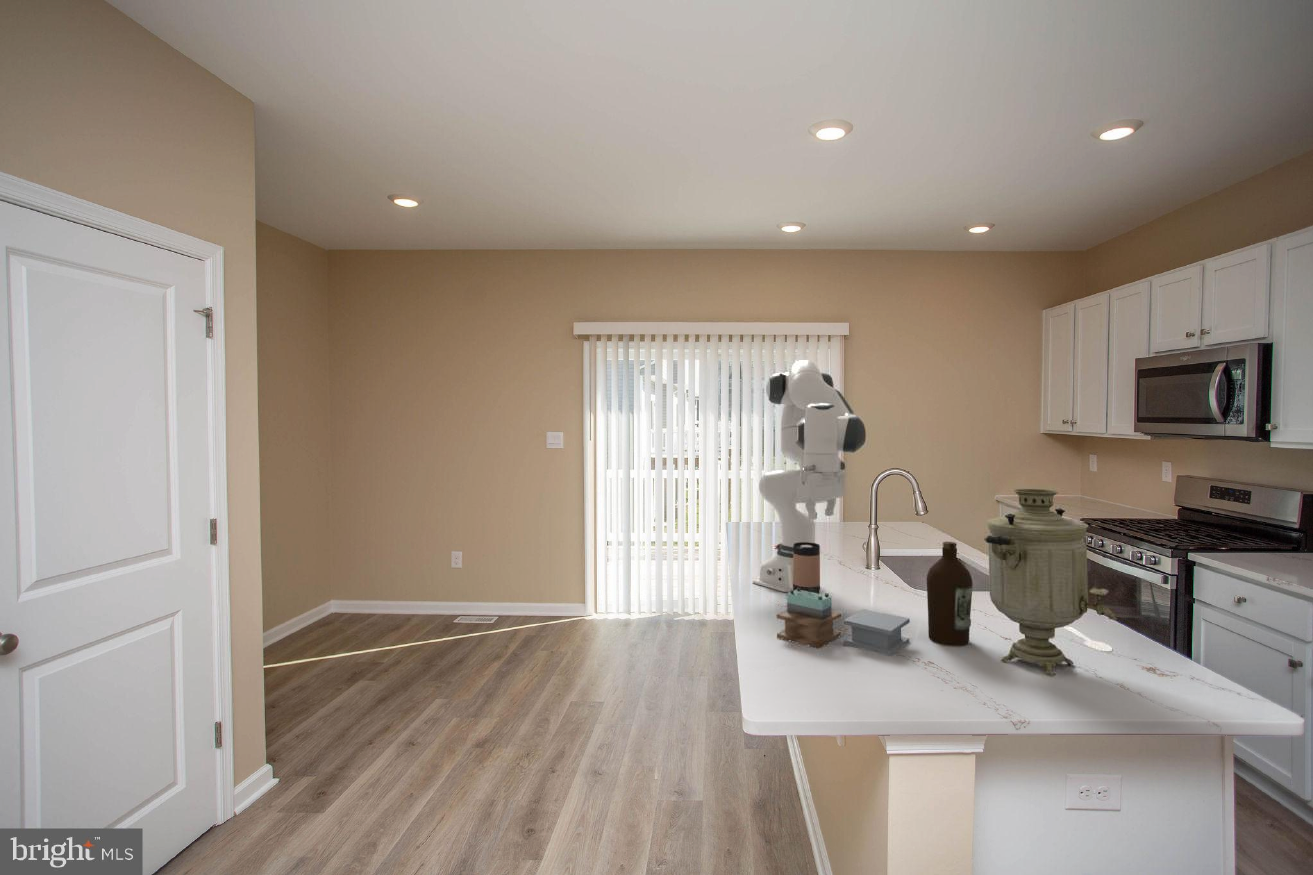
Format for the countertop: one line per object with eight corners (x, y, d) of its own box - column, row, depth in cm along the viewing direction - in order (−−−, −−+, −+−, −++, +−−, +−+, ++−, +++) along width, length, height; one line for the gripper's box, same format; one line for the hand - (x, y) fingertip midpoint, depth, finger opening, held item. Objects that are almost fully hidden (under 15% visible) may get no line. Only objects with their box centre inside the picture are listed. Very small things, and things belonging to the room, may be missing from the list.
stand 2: (843, 643, 159) (843, 620, 159) (863, 631, 168) (863, 609, 168) (890, 655, 151) (891, 630, 151) (909, 641, 160) (909, 618, 160)
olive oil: (917, 637, 163) (918, 541, 162) (941, 630, 169) (942, 536, 168) (956, 650, 154) (957, 548, 153) (980, 641, 160) (981, 543, 159)
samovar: (1041, 700, 127) (1045, 502, 125) (948, 653, 152) (950, 488, 151) (1153, 683, 135) (1158, 496, 133) (1047, 640, 160) (1050, 483, 159)
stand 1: (776, 637, 164) (776, 614, 163) (799, 625, 173) (799, 603, 172) (819, 648, 156) (819, 624, 155) (841, 635, 165) (841, 612, 164)
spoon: (1076, 628, 170) (1076, 626, 170) (1119, 653, 153) (1119, 651, 153) (1055, 627, 171) (1055, 625, 171) (1095, 652, 153) (1095, 650, 153)
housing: (787, 612, 165) (787, 590, 165) (796, 607, 169) (796, 586, 169) (822, 620, 159) (822, 598, 159) (831, 615, 162) (831, 593, 162)
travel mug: (817, 609, 187) (817, 542, 186) (821, 617, 179) (822, 547, 179) (791, 608, 188) (791, 541, 187) (794, 617, 180) (794, 547, 179)
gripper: (813, 466, 156) (813, 522, 156) (849, 463, 171) (849, 514, 171) (790, 466, 160) (790, 520, 160) (827, 462, 175) (827, 512, 176)
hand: (821, 517), depth 166 cm, fingers open, 8 cm apart
